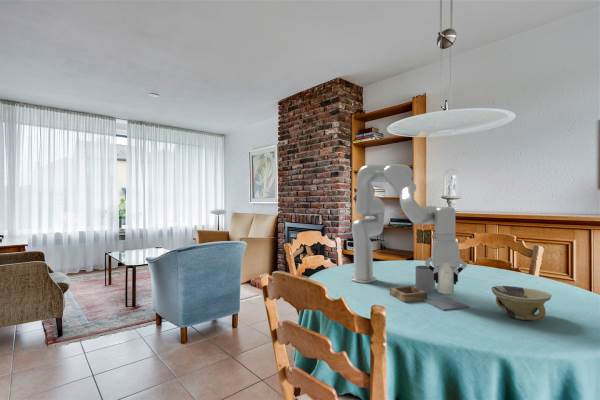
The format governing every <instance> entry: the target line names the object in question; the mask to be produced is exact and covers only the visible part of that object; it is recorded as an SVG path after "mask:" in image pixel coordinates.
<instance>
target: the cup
mask: <svg viewBox="0 0 600 400" xmlns="http://www.w3.org/2000/svg"><path fill="white" fill-rule="evenodd" d="M432 267H433V268H434V266H432ZM415 287H416V288H418V289H420V290H423V291H425V292H427V293H428V292H429V293H431V292H435V291H436V281H434V273H433V271H432V270H430V269H429V267H427V266H426V265H416V266H415Z"/></svg>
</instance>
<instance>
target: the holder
mask: <svg viewBox="0 0 600 400" xmlns="http://www.w3.org/2000/svg"><path fill="white" fill-rule="evenodd" d="M389 295H390V296H392V297H394V298H395V299H397V300H399V301H400V302H403V303H410V302H412V303H413V302H419V301H420V302H421V301H423V299H428V292H425V291H423V290H420V289H418V288H416V286H415V285H403V286H393V287H389Z"/></svg>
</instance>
